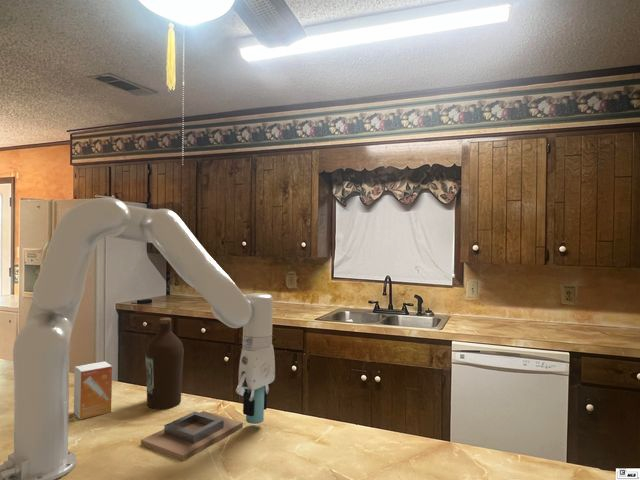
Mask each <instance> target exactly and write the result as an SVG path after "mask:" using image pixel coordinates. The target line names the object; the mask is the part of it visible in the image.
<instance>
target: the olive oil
mask: <svg viewBox="0 0 640 480" xmlns="http://www.w3.org/2000/svg"><path fill="white" fill-rule="evenodd" d="M158 330H159V331H158V333H156V334H155V336H154V337H152V338H151V340H150V341H149V342H148V344H147V345H146V349H145V356H144V358H145V372H146V373H145V376H146V379H145V380H146V406H147V407H148V408H150V409H152V410H167V409H170V408H174V407H176V406H178V405H180V404H181V402H182V387H183V386H182V385H183V384H182V383H183V369H184V355H185V354H184V353H185V350H184V345H183V342H182V341H181V339H180V338H179V337H177V335H176V334H175V333H173V331H172V318H171V317H160V318H159V323H158Z"/></svg>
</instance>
